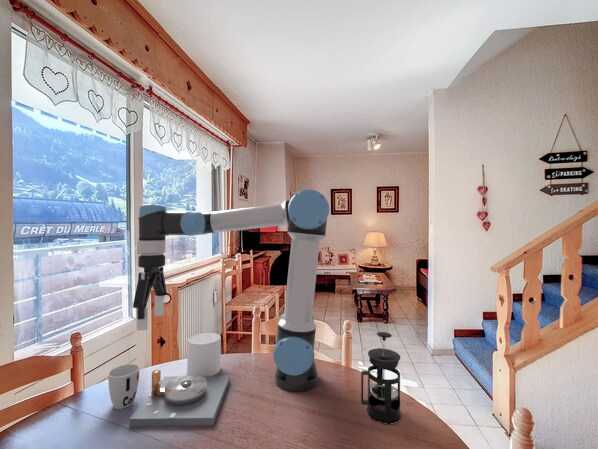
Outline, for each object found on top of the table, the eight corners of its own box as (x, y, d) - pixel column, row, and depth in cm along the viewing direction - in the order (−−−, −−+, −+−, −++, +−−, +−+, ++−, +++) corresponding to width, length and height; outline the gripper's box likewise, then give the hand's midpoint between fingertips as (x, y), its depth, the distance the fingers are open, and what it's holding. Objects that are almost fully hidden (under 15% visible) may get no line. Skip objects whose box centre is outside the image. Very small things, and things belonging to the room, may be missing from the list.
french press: (397, 404, 88) (397, 328, 88) (408, 425, 79) (408, 339, 79) (358, 403, 88) (358, 327, 89) (364, 424, 79) (365, 339, 79)
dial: (211, 382, 95) (211, 362, 95) (199, 404, 83) (200, 381, 83) (160, 382, 94) (160, 362, 94) (141, 405, 82) (142, 382, 82)
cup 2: (207, 360, 116) (207, 330, 116) (226, 369, 109) (227, 337, 109) (180, 372, 106) (180, 339, 106) (199, 382, 99) (200, 347, 99)
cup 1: (124, 414, 82) (125, 378, 82) (100, 410, 84) (101, 375, 84) (145, 397, 90) (145, 365, 90) (122, 394, 92) (123, 362, 92)
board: (229, 381, 100) (229, 375, 100) (213, 425, 78) (213, 417, 78) (164, 382, 99) (164, 375, 99) (129, 426, 77) (129, 418, 77)
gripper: (154, 250, 103) (153, 311, 103) (119, 258, 78) (118, 337, 78) (176, 250, 104) (175, 310, 103) (149, 258, 79) (148, 336, 79)
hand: (151, 322), depth 91 cm, fingers open, 13 cm apart
